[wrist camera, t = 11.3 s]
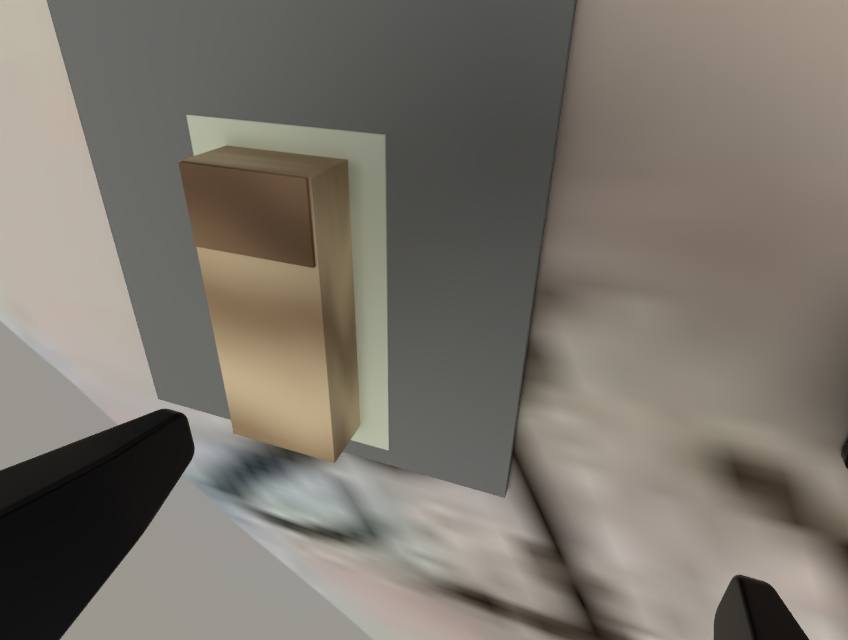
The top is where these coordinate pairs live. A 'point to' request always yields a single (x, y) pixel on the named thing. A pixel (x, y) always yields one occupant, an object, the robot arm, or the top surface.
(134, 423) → the robot arm
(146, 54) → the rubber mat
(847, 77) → the top surface
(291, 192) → the two-tone wooden plank
